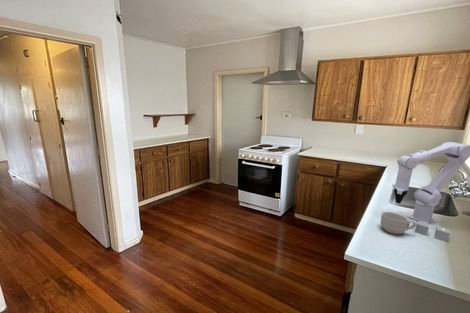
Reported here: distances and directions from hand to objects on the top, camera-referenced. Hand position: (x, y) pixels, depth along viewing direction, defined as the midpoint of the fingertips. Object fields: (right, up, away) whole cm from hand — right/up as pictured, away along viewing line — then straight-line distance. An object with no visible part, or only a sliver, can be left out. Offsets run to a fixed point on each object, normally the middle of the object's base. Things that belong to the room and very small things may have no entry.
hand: (397, 202), depth 121 cm
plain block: (+4, -12, -10) cm, 16 cm away
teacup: (-9, -12, -10) cm, 18 cm away
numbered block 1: (+10, -14, -14) cm, 22 cm away
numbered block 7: (-1, -11, -5) cm, 12 cm away
